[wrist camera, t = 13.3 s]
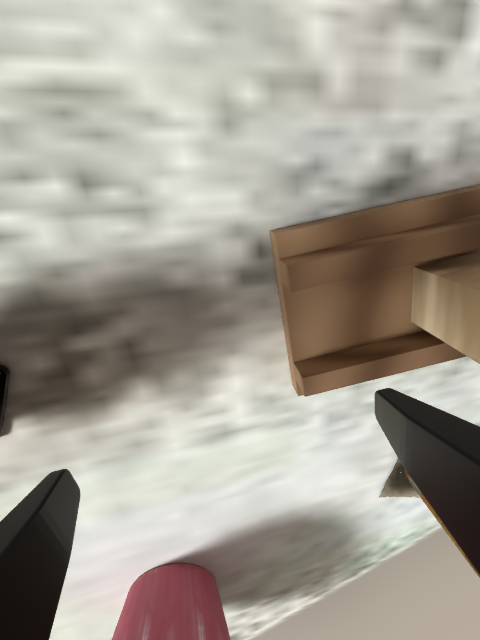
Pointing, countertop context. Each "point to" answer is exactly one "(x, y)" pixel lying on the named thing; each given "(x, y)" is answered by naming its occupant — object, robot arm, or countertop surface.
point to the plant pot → (173, 606)
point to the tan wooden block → (450, 302)
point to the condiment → (410, 494)
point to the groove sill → (366, 287)
